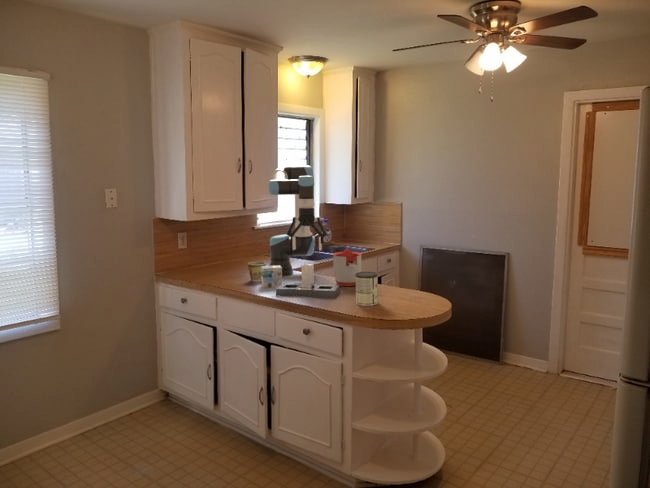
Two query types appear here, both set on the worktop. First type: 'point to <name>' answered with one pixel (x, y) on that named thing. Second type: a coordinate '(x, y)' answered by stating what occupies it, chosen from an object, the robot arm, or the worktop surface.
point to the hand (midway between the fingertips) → (307, 249)
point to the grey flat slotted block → (308, 290)
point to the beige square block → (307, 276)
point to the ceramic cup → (255, 270)
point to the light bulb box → (271, 276)
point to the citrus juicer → (346, 267)
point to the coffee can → (366, 288)
